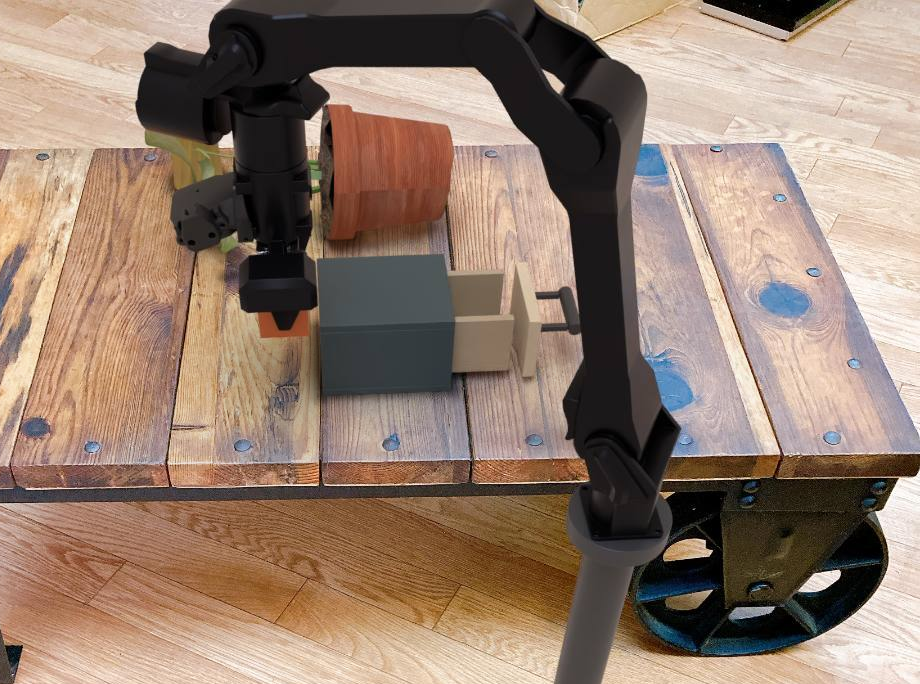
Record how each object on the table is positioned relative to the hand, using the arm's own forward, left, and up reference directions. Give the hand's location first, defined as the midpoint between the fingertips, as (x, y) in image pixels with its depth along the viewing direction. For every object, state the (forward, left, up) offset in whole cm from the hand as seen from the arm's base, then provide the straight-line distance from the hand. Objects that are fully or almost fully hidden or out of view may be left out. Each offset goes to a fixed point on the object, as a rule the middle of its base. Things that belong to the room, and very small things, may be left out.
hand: (284, 312), depth 99 cm
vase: (+40, +11, -11) cm, 42 cm away
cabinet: (+6, -9, -11) cm, 16 cm away
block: (0, 0, -1) cm, 1 cm away
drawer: (+6, -20, -10) cm, 24 cm away
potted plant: (+28, 0, -11) cm, 30 cm away
